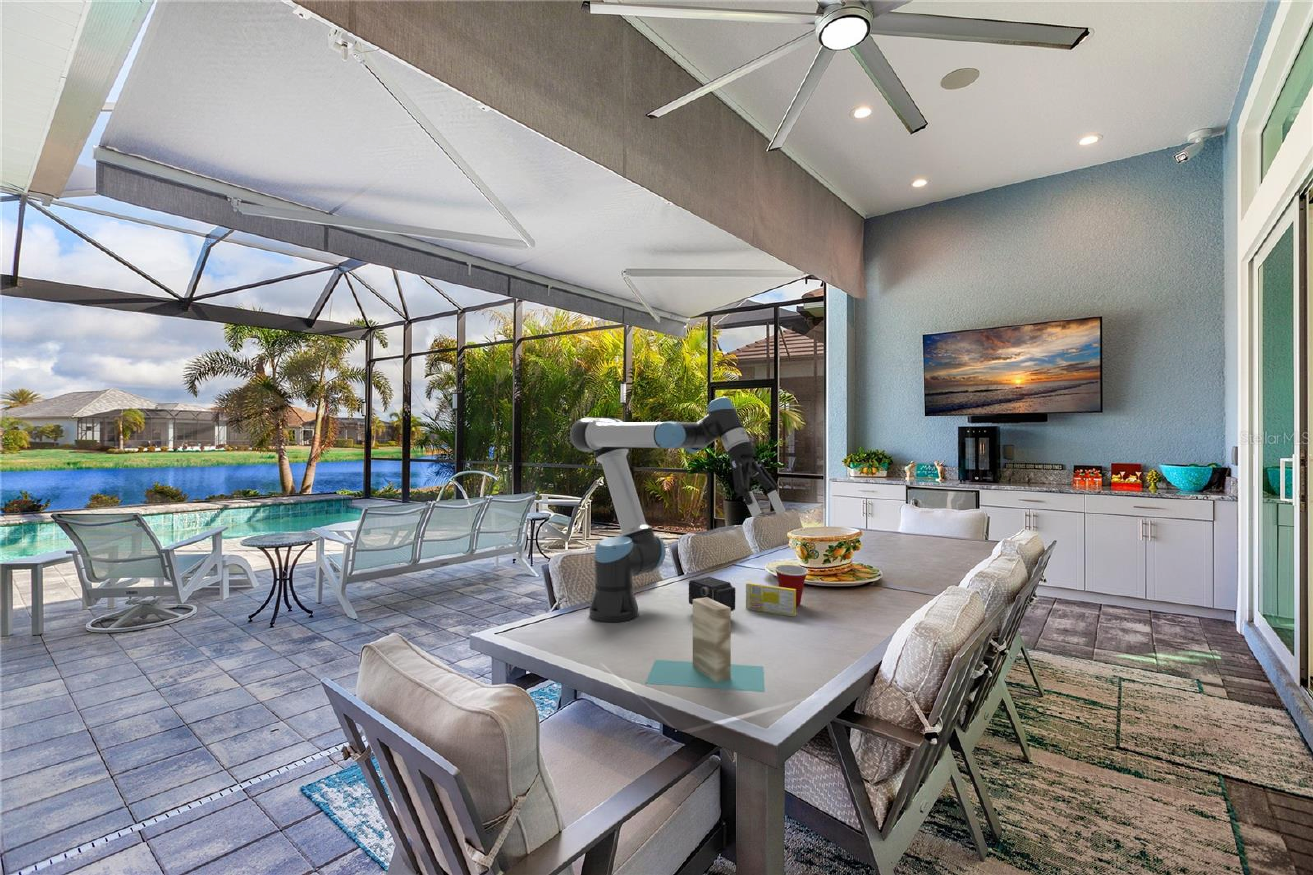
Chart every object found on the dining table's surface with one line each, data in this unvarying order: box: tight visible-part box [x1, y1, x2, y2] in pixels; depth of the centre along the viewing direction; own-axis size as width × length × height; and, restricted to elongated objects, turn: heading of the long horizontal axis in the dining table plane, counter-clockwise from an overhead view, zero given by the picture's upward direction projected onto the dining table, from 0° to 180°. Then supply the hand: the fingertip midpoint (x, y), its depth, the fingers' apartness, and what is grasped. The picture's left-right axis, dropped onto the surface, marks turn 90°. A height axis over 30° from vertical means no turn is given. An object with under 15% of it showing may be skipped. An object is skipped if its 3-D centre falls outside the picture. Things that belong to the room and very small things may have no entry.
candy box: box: [745, 582, 797, 618], centre depth 186 cm, size 16×2×8 cm, turn 58°
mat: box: [645, 659, 765, 693], centre depth 135 cm, size 26×14×1 cm, turn 81°
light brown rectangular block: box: [692, 597, 732, 682], centre depth 137 cm, size 4×10×16 cm, turn 28°
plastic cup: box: [774, 564, 809, 608], centre depth 193 cm, size 11×11×12 cm
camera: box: [688, 576, 736, 612], centre depth 182 cm, size 11×11×15 cm
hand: (769, 514), depth 163 cm, fingers open, 13 cm apart
